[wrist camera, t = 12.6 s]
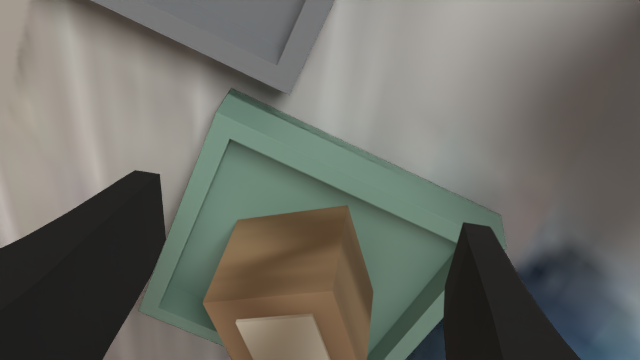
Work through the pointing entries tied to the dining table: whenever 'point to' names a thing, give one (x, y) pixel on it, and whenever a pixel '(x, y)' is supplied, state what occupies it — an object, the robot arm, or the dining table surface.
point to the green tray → (308, 194)
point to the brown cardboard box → (293, 288)
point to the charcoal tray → (238, 31)
